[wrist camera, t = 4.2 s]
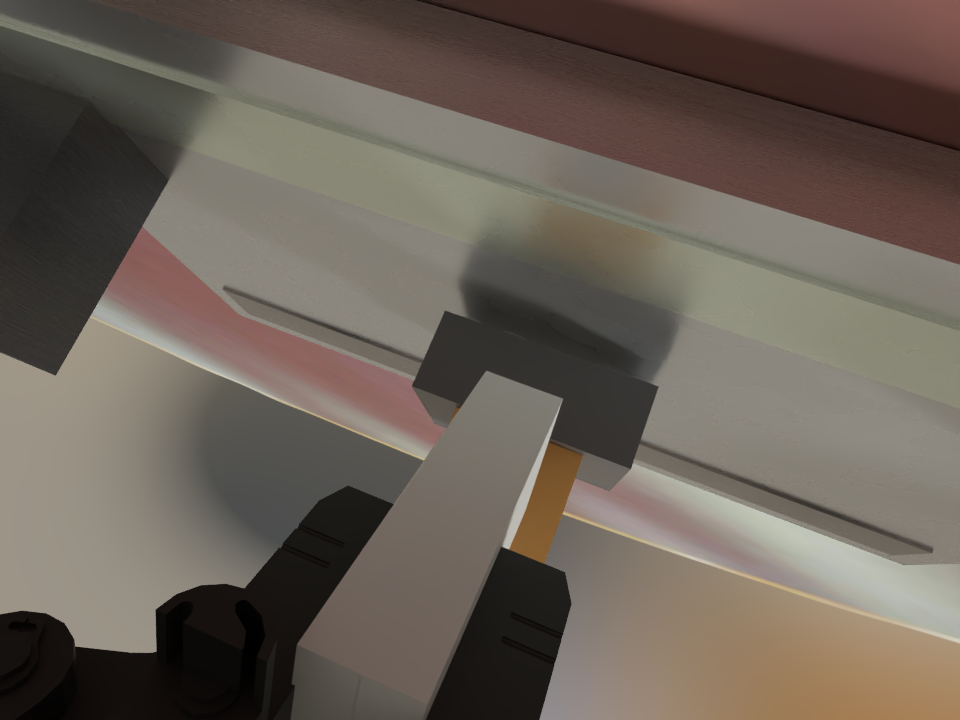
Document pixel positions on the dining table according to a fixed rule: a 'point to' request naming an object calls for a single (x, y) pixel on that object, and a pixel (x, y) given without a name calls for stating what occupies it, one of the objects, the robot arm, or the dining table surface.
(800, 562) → the dining table surface
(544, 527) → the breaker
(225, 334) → the dining table surface
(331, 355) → the dining table surface
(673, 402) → the tray
